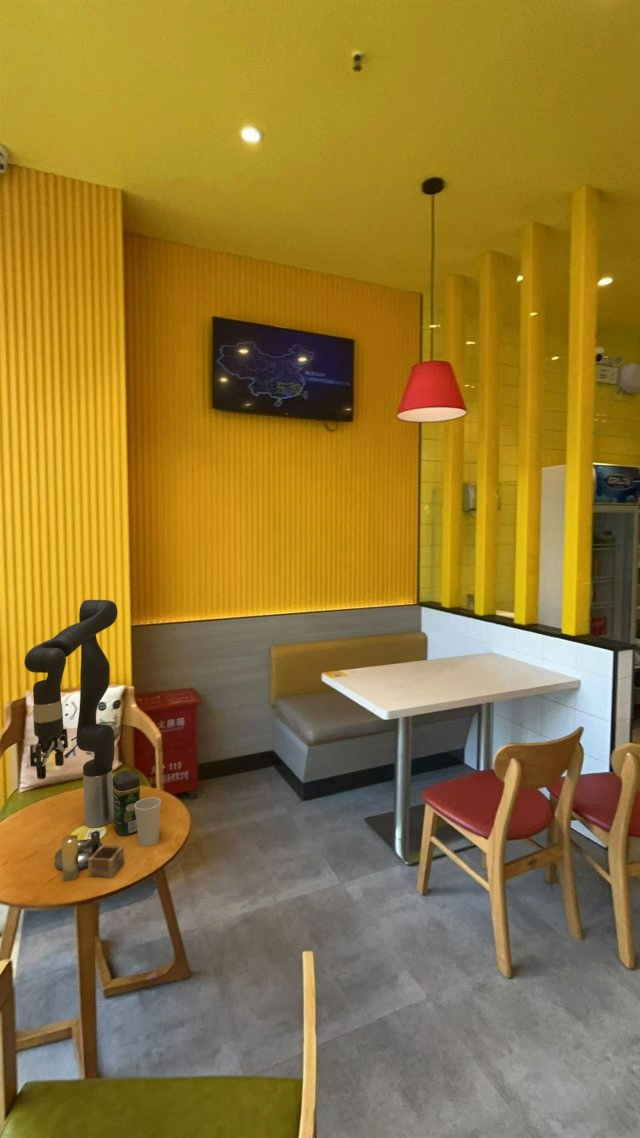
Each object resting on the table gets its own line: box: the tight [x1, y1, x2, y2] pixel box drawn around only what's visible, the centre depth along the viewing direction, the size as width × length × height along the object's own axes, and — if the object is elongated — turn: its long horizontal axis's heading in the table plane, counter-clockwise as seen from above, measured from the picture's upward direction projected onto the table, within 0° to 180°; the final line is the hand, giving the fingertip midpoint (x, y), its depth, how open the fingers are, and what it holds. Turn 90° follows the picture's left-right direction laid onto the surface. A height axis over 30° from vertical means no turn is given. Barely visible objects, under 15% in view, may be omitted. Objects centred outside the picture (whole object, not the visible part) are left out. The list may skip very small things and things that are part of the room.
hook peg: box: [61, 834, 80, 882], centre depth 150 cm, size 4×4×11 cm
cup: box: [134, 796, 162, 847], centre depth 168 cm, size 8×8×12 cm
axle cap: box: [77, 839, 85, 851], centre depth 159 cm, size 3×3×2 cm
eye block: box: [87, 845, 125, 879], centre depth 153 cm, size 7×7×5 cm
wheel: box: [54, 830, 104, 871], centre depth 159 cm, size 13×13×8 cm
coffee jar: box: [113, 769, 141, 836], centre depth 175 cm, size 10×8×19 cm
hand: (50, 771), depth 153 cm, fingers open, 8 cm apart
